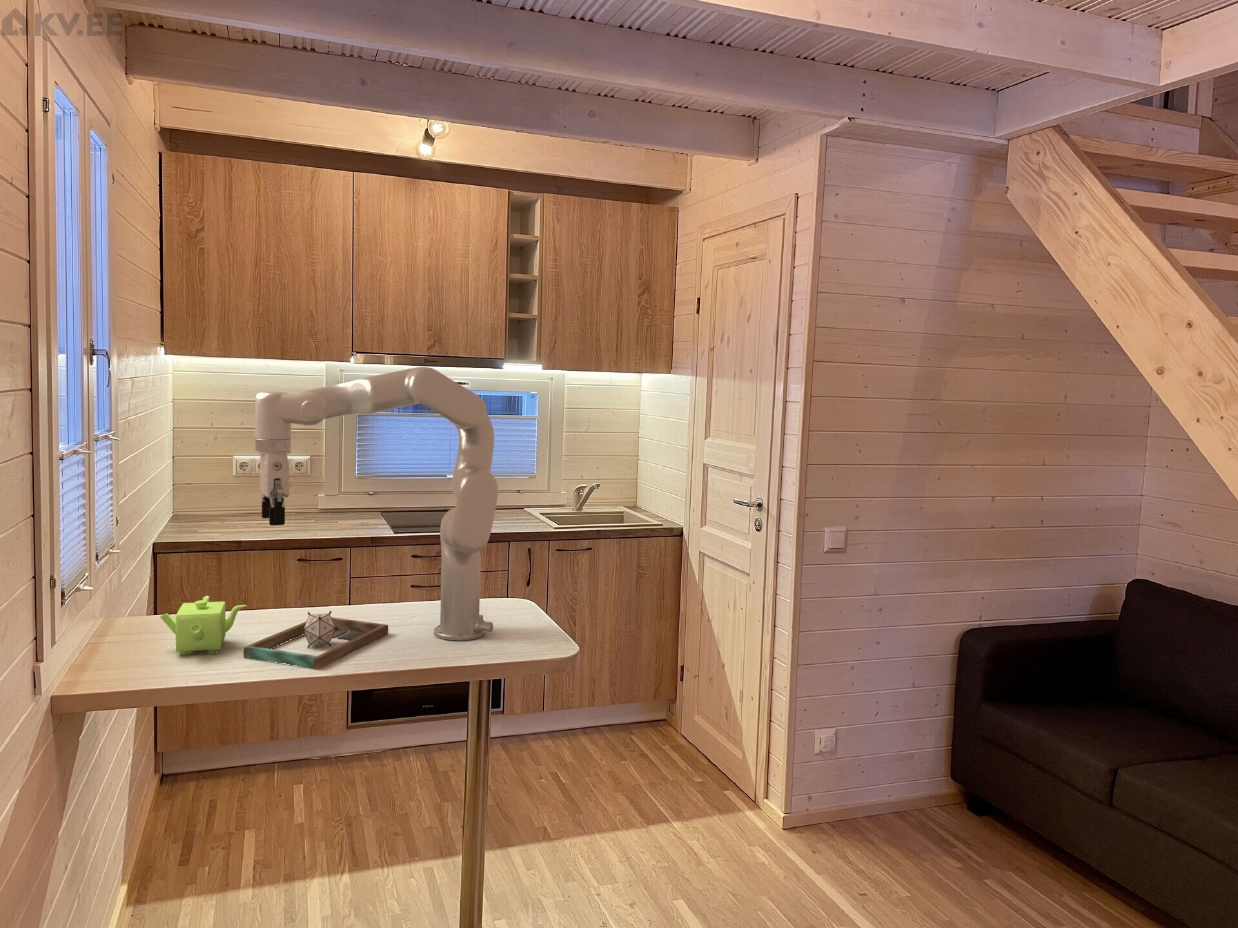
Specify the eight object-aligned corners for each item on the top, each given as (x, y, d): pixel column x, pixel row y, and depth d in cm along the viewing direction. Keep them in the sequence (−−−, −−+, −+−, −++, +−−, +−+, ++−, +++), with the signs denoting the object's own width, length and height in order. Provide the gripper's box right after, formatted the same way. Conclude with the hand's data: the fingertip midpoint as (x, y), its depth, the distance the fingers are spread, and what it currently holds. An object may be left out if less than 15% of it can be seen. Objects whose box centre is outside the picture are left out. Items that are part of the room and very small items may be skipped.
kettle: (207, 635, 217) (206, 589, 216) (250, 645, 211) (250, 598, 210) (151, 652, 204) (150, 603, 202) (195, 663, 198) (195, 613, 196)
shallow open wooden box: (388, 634, 223) (388, 624, 223) (318, 669, 197) (318, 658, 196) (320, 625, 229) (320, 615, 229) (243, 657, 202) (243, 646, 202)
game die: (323, 663, 212) (323, 637, 205) (292, 647, 213) (291, 621, 206) (346, 636, 218) (347, 611, 212) (315, 621, 219) (315, 595, 213)
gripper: (298, 450, 200) (298, 527, 201) (283, 442, 214) (283, 514, 216) (262, 450, 196) (262, 528, 198) (249, 443, 211) (249, 516, 212)
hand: (273, 521), depth 207 cm, fingers open, 9 cm apart
